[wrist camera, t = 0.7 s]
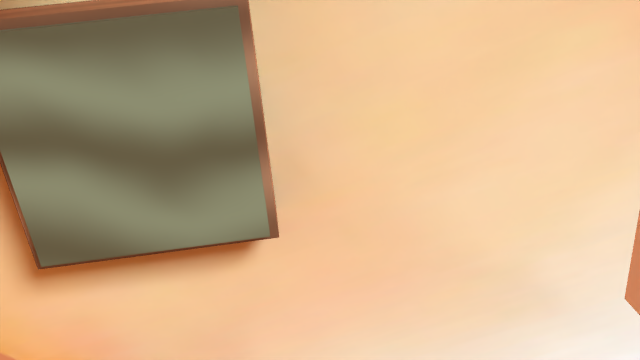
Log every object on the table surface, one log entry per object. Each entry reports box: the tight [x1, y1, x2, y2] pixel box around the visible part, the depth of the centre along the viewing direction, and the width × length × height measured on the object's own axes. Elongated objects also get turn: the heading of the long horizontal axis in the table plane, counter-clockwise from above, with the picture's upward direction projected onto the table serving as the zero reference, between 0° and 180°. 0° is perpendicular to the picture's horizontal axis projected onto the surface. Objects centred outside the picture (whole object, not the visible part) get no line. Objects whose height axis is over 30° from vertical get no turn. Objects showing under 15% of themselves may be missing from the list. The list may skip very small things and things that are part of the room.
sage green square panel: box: [0, 0, 279, 269], centre depth 32 cm, size 14×14×4 cm
